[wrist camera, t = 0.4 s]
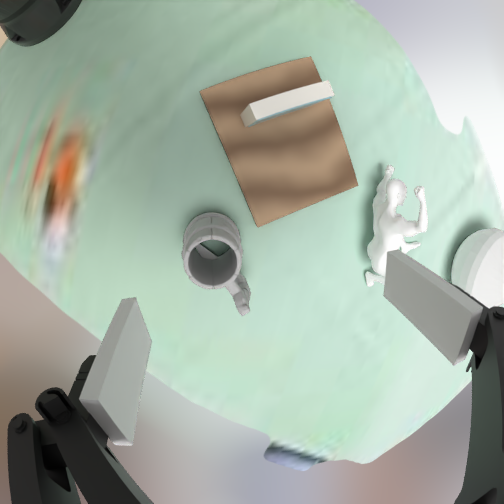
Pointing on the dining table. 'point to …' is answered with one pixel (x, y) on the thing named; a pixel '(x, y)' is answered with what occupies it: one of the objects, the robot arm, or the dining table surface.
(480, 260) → the vase
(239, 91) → the board
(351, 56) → the dining table surface
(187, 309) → the dining table surface
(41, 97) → the dining table surface
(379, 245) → the person figurine
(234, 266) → the mug
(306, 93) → the tile
